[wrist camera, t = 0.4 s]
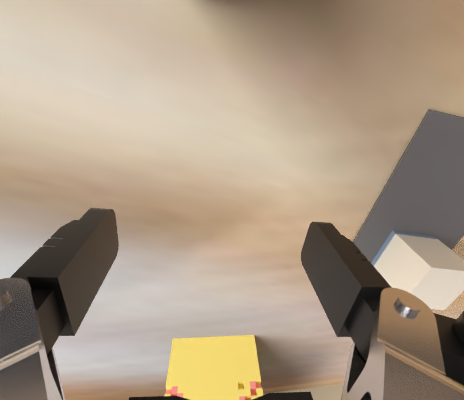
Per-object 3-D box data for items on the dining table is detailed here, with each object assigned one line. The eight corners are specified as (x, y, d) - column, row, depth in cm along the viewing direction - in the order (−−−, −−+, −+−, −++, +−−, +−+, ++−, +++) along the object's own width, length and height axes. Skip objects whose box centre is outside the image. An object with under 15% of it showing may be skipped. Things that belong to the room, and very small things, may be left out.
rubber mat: (428, 109, 26) (431, 110, 25) (543, 136, 28) (546, 137, 28) (329, 282, 39) (330, 284, 38) (414, 290, 41) (415, 291, 41)
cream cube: (392, 230, 34) (431, 267, 27) (434, 236, 35) (480, 273, 29) (368, 266, 37) (399, 306, 31) (407, 270, 38) (444, 310, 32)
